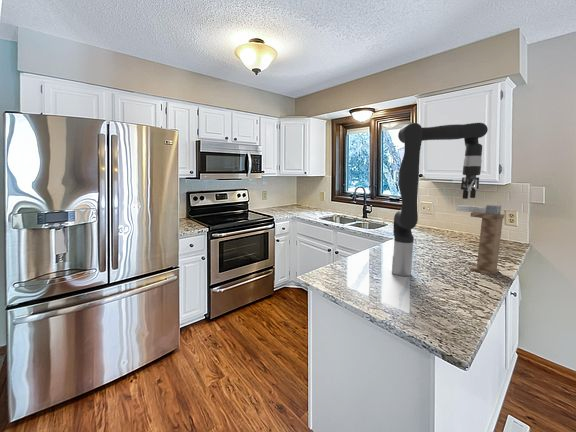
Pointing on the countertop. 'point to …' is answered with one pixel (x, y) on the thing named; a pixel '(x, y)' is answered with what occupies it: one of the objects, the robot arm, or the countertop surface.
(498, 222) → the wooden pedestal
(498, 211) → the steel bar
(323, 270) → the countertop surface
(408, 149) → the robot arm
